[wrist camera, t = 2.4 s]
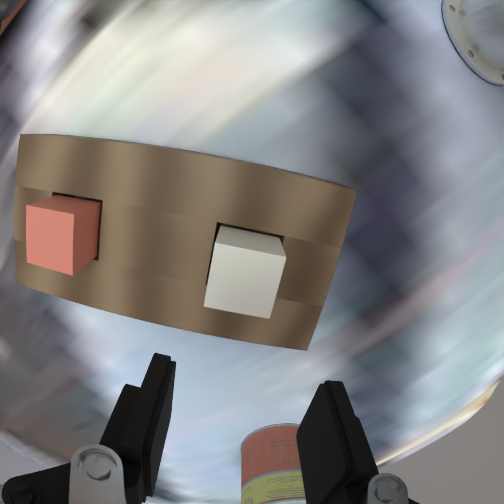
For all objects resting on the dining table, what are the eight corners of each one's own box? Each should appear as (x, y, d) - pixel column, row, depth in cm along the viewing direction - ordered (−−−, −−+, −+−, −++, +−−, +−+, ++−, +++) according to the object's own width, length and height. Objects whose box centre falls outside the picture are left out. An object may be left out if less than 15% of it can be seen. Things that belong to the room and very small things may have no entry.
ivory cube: (279, 237, 23) (286, 257, 19) (265, 290, 25) (269, 318, 21) (220, 225, 23) (214, 242, 19) (210, 279, 24) (203, 306, 20)
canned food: (229, 459, 39) (227, 527, 27) (259, 415, 35) (264, 495, 24) (298, 470, 40) (306, 532, 29) (335, 430, 37) (355, 500, 25)
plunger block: (338, 183, 27) (357, 191, 22) (298, 321, 31) (306, 350, 26) (50, 134, 24) (20, 134, 20) (43, 265, 29) (17, 283, 24)
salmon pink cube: (101, 202, 22) (74, 214, 18) (97, 255, 24) (72, 275, 19) (57, 194, 22) (26, 204, 18) (55, 245, 23) (26, 262, 19)
